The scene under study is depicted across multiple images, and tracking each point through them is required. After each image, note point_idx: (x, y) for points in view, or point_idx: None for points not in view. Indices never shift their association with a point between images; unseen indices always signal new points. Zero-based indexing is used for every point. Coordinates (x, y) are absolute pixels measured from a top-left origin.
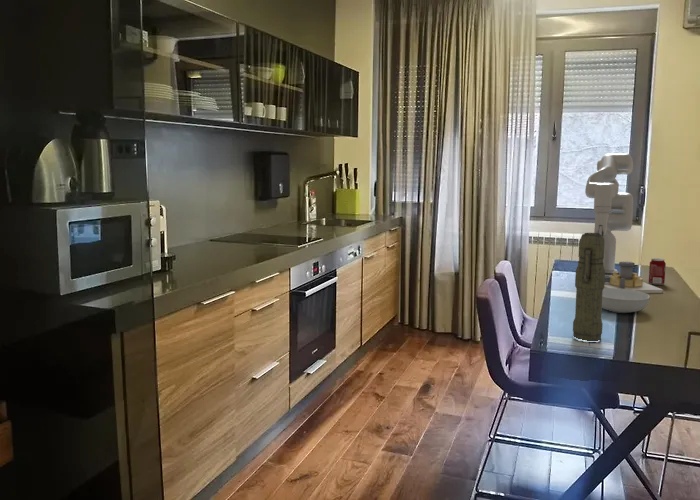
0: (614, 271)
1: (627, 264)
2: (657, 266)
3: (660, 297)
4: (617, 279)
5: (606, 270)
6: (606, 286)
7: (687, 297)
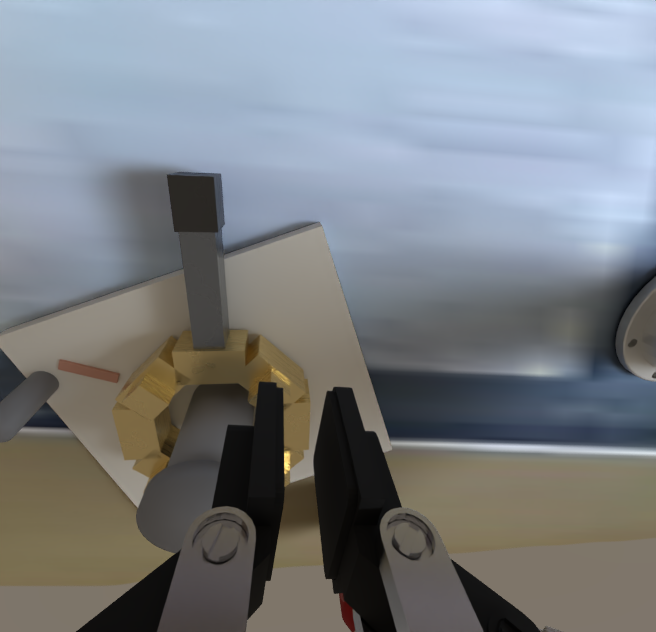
0: (627, 367)
1: (139, 518)
2: (341, 594)
3: (44, 504)
4: (125, 388)
5: (645, 332)
6: (103, 306)
7: (108, 571)
